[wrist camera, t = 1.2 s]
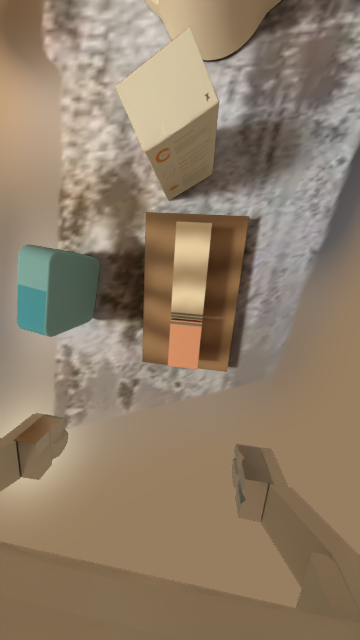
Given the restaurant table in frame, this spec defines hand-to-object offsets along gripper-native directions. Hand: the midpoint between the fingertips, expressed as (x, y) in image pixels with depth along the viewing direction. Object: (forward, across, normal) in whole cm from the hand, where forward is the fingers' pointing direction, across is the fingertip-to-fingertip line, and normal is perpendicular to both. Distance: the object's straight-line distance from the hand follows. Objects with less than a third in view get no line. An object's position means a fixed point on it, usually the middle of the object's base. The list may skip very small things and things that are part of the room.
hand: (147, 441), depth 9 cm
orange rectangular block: (+25, 0, +3) cm, 26 cm away
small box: (+27, +3, -25) cm, 37 cm away
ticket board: (+27, 0, -5) cm, 28 cm away
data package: (+28, +20, -5) cm, 34 cm away
